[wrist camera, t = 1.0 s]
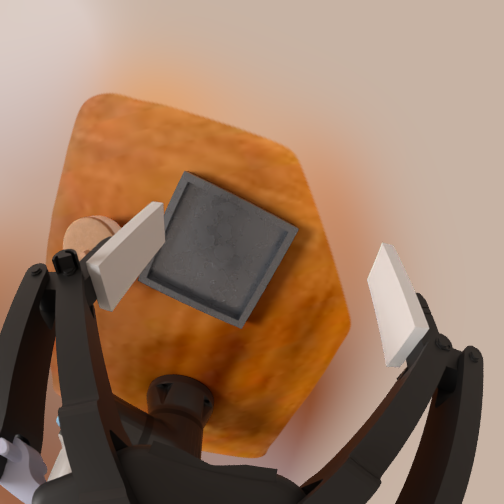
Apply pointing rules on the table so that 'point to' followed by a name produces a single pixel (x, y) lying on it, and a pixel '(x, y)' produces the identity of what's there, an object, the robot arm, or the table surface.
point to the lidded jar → (88, 233)
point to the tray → (217, 250)
